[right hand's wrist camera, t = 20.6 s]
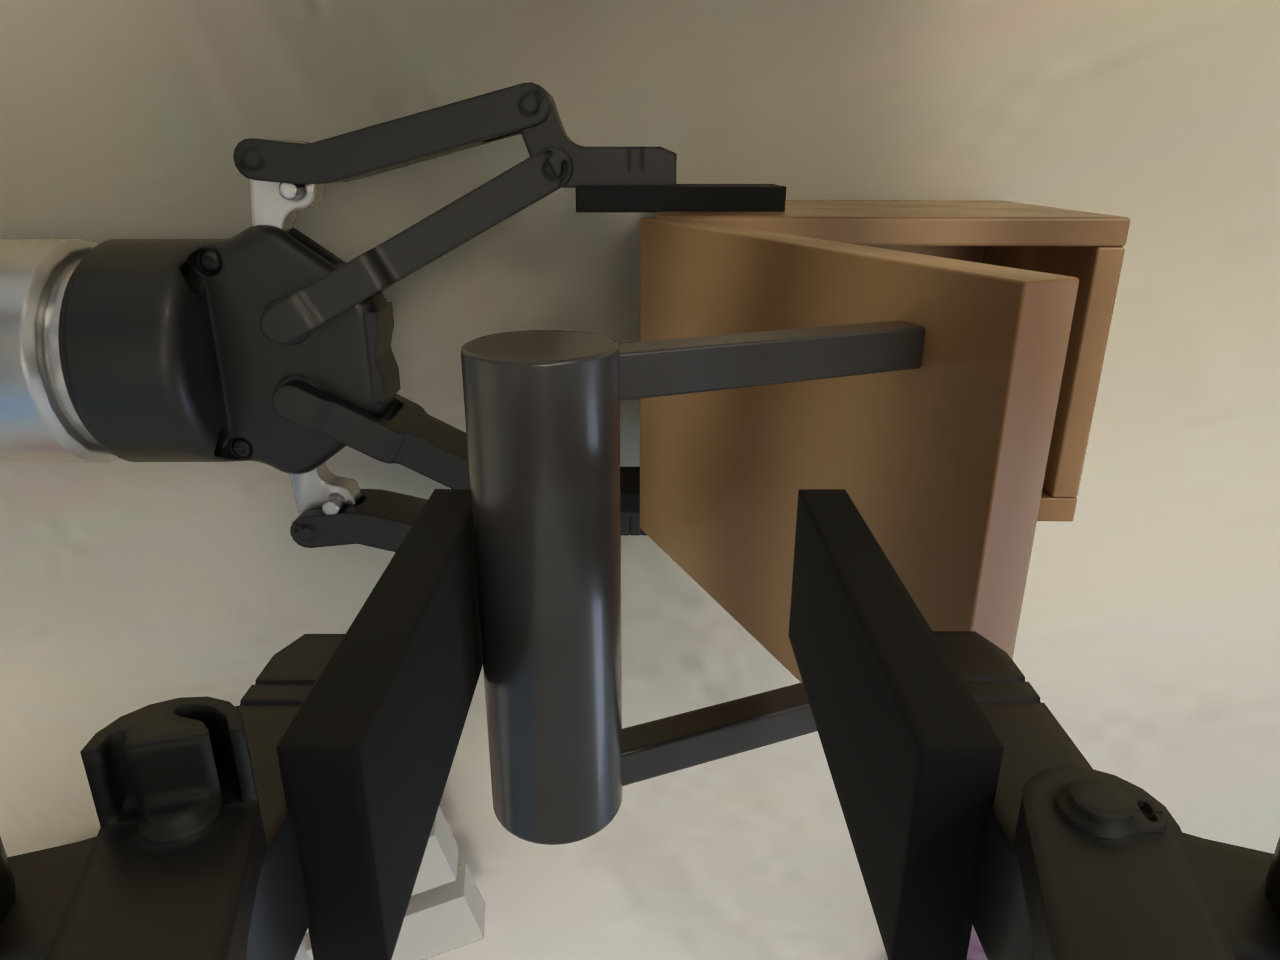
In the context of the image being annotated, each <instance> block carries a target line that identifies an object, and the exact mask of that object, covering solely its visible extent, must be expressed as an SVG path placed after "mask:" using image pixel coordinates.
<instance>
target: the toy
mask: <svg viewBox="0 0 1280 960" xmlns="http://www.w3.org/2000/svg"><path fill="white" fill-rule="evenodd" d="M458 851H459V846H458V844H457V842H456V840H455V838H454V836H453V834H452V831H451V829H450V827H449V825H448V823H447V821H446V819H445V817H444V814H443V812H442V810H441V808H440V806H439V807H438V811H437V814H436V817H435V820H434V824H433V827H432V830H431V833H430V837H429V840H428V843H427V846H426V850H425V853H424V856H423V859H422V862H421V866H420V869H419V872H418V875H417V879H416V882H415V885H414V888H413V892H412V895H411V898H410V901H409V904H408V908H407V911H406V914H405V917H404V921H403V924H402V927H401V930H400V934H399V937H398V940H397V943H396V946H395V950H394V953H393V956H392V959H391V960H424V959H427V958H430V957H433V956H435V955H438V954H441V953H444V952H447V951H450V950H452V949H455V948H458V947H461V946H464V945H467V944H469V943H472V942H475V941H478V940H481V939H484V923H485V902H484V900H483V898H482V895H481V893H480V891H479V889H478V887H477V885H476V883H475V881H474V878H473V876H472V874H471V872H470V870H469V868H468V866H467V863H466V862H465V863H462V864H459V865H457V863H458ZM294 960H314V959H313V954H312V948H311V942H310V937H309V931H308V929H307V931H306V934H305V936H304V938H303V941H302V943H301V945H300V948H299V950H298V952H297V955H296V957H295V959H294Z"/></svg>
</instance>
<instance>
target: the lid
mask: <svg viewBox="0 0 1280 960" xmlns="http://www.w3.org/2000/svg"><path fill="white" fill-rule="evenodd" d="M1078 284H1079V279H1078V278H1076V277H1071V276H1064V275H1057V274H1051V273H1044V272H1037V271H1031V270H1024V269H1017V268H1010V267H1004V266H997V265H990V264H984V263H977V262H970V261H964V260H957V259H950V258H943V257H937V256H930V255H923V254H917V253H910V252H903V251H897V250H890V249H883V248H877V247H870V246H863V245H856V244H850V243H843V242H836V241H830V240H823V239H816V238H810V237H803V236H796V235H789V234H783V233H776V232H769V231H763V230H756V229H749V228H743V227H736V226H729V225H722V224H716V223H709V222H702V221H696V220H689V219H682V218H676V217H664V218H641V220H640V342H633V343H621V344H617V343H616V341H614V340H612V339H610V338H607V337H604V336H601V335H597V334H592V333H586V332H577V331H563V330H531V331H516V332H506V333H499V334H493V335H488V336H484V337H480V338H477V339H474V340H472V341H469V342H467V343H466V344H464V345H463V347H462V349H461V360H462V375H463V389H464V403H465V417H466V431H467V445H468V459H469V473H470V487H471V501H472V515H473V529H474V543H475V557H476V571H477V585H478V599H479V613H480V627H481V641H482V655H483V669H484V683H485V697H486V711H487V725H488V739H489V753H490V767H491V781H492V795H493V808H494V812H495V814H496V816H497V818H498V820H499V821H500V823H501V824H502V825H503V827H505V828H506V829H507V830H508V831H509V832H510V833H512V834H513V835H515V836H517V837H519V838H521V839H524V840H526V841H530V842H533V843H539V844H550V845H555V844H566V843H572V842H576V841H579V840H582V839H585V838H587V837H590V836H592V835H594V834H595V833H597V832H599V831H600V830H602V829H603V828H604V827H605V826H607V825H608V824H609V823H610V822H611V821H612V819H613V818H614V816H615V815H616V813H617V811H618V809H619V807H620V804H621V801H622V786H624V785H628V784H631V783H635V782H638V781H642V780H646V779H649V778H653V777H656V776H660V775H663V774H667V773H670V772H674V771H677V770H681V769H684V768H688V767H692V766H695V765H699V764H702V763H706V762H709V761H713V760H716V759H720V758H723V757H727V756H730V755H734V754H737V753H741V752H745V751H748V750H752V749H755V748H759V747H762V746H766V745H769V744H773V743H776V742H780V741H783V740H787V739H790V738H794V737H798V736H801V735H805V734H808V733H812V732H815V731H818V730H817V727H816V723H815V720H814V717H813V714H812V711H811V707H810V704H809V701H808V698H807V694H806V691H805V688H804V685H803V681H802V678H801V675H800V672H799V669H798V665H797V662H796V659H795V656H794V652H793V649H792V646H791V643H790V639H789V636H788V635H789V621H790V606H791V592H792V577H793V562H794V548H795V533H796V519H797V504H798V489H845V490H846V492H847V493H848V495H849V496H850V498H851V500H852V501H853V503H854V505H855V506H856V508H857V509H858V511H859V513H860V514H861V516H862V518H863V519H864V521H865V522H866V524H867V526H868V527H869V529H870V531H871V532H872V534H873V535H874V537H875V539H876V540H877V542H878V544H879V545H880V547H881V548H882V550H883V552H884V553H885V555H886V557H887V558H888V560H889V561H890V563H891V565H892V566H893V568H894V569H895V571H896V573H897V574H898V576H899V578H900V579H901V581H902V582H903V584H904V586H905V587H906V589H907V591H908V592H909V594H910V595H911V597H912V599H913V600H914V602H915V604H916V605H917V607H918V608H919V610H920V612H921V613H922V615H923V617H924V618H925V620H926V621H927V623H928V625H929V626H930V628H931V630H932V631H976V632H977V633H979V634H980V635H982V636H983V637H985V638H986V639H988V640H989V641H990V642H992V643H993V644H995V645H996V646H998V647H999V648H1001V649H1002V650H1004V651H1005V652H1007V654H1008V655H1009V656H1010V658H1011V659H1012V658H1013V652H1014V646H1015V641H1016V635H1017V629H1018V624H1019V618H1020V612H1021V607H1022V601H1023V595H1024V590H1025V584H1026V579H1027V573H1028V567H1029V562H1030V556H1031V550H1032V545H1033V539H1034V533H1035V528H1036V522H1037V516H1038V511H1039V505H1040V499H1041V494H1042V488H1043V482H1044V477H1045V471H1046V465H1047V460H1048V454H1049V448H1050V443H1051V437H1052V431H1053V426H1054V420H1055V414H1056V409H1057V403H1058V397H1059V392H1060V386H1061V381H1062V375H1063V369H1064V364H1065V358H1066V352H1067V347H1068V341H1069V335H1070V330H1071V324H1072V318H1073V313H1074V307H1075V301H1076V296H1077V290H1078ZM634 399H640V528H641V529H642V530H643V531H644V532H645V533H646V534H647V535H648V536H649V537H650V538H651V539H652V540H653V541H654V542H655V543H656V544H657V545H658V546H659V547H660V548H661V549H662V550H664V551H665V552H666V553H667V554H668V555H669V556H670V557H671V558H672V559H673V560H674V561H675V562H676V563H677V564H678V565H679V566H680V567H681V568H682V569H683V570H684V571H685V572H686V573H687V574H689V575H690V576H691V577H692V578H693V579H694V580H695V581H696V582H697V583H698V584H699V585H700V586H701V587H702V588H703V589H704V590H705V591H706V592H707V593H708V594H709V595H710V596H711V597H713V598H714V599H715V600H716V601H717V602H718V603H719V604H720V605H721V606H722V607H723V608H724V609H725V610H726V611H727V612H728V613H729V614H730V615H731V616H732V617H733V618H734V619H735V620H736V621H738V622H739V623H740V624H741V625H742V626H743V627H744V628H745V629H746V630H747V631H748V632H749V633H750V634H751V635H752V636H753V637H754V638H755V639H756V640H757V641H758V642H759V643H760V644H762V645H763V646H764V647H765V648H766V649H767V650H768V651H769V652H770V653H771V654H772V655H773V656H774V657H775V658H776V659H777V660H778V661H779V662H780V663H781V664H782V665H783V666H784V667H786V668H787V669H788V670H789V671H790V672H791V673H792V674H793V675H794V676H795V677H796V678H797V679H798V680H799V681H800V682H801V683H799V684H795V685H791V686H787V687H783V688H779V689H775V690H772V691H768V692H764V693H760V694H756V695H752V696H748V697H744V698H740V699H737V700H733V701H729V702H725V703H721V704H717V705H713V706H709V707H705V708H702V709H698V710H694V711H690V712H686V713H682V714H678V715H674V716H670V717H667V718H663V719H659V720H655V721H651V722H647V723H643V724H639V725H635V726H632V727H628V728H624V729H622V694H621V539H620V401H625V400H634Z"/></svg>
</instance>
